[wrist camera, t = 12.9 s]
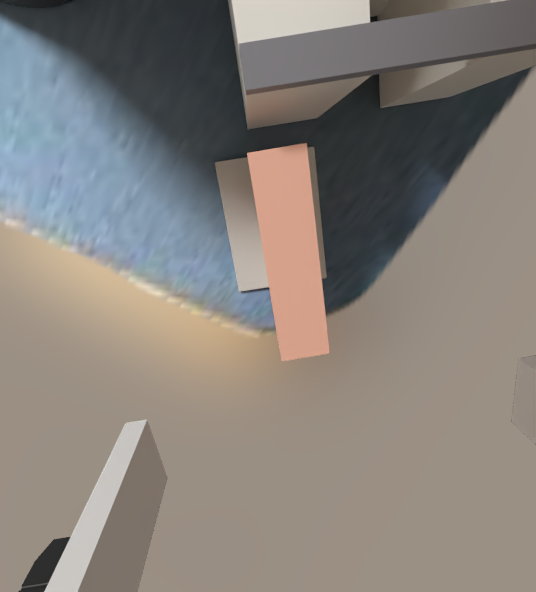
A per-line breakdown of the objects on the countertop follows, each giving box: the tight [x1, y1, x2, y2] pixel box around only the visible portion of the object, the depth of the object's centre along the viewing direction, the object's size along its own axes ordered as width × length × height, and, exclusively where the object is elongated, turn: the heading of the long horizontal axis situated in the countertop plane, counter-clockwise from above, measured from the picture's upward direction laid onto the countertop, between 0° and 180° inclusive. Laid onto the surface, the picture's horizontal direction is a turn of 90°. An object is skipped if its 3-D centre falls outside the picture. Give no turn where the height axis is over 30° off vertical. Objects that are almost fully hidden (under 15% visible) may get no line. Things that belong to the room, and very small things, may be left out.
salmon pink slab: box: [247, 143, 330, 361], centre depth 24 cm, size 3×12×11 cm, turn 9°
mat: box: [215, 147, 327, 292], centre depth 30 cm, size 8×11×1 cm
